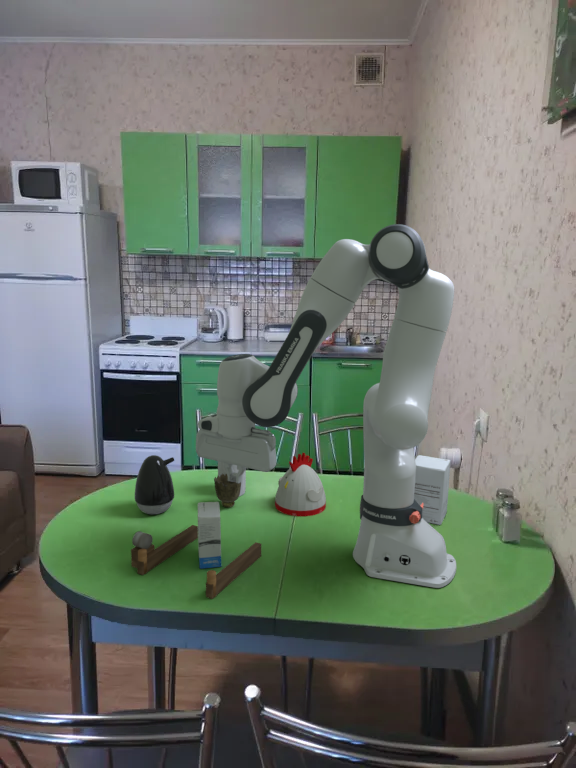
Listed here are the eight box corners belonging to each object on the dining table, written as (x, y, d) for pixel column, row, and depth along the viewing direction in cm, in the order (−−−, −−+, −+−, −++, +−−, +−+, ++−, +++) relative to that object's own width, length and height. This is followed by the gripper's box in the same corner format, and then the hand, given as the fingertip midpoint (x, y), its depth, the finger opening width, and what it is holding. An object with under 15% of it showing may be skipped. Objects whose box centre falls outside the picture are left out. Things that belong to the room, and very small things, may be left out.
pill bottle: (230, 500, 153) (230, 449, 150) (212, 492, 158) (211, 442, 155) (251, 492, 159) (251, 443, 156) (232, 485, 164) (232, 436, 161)
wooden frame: (261, 556, 124) (262, 526, 122) (212, 599, 107) (212, 565, 106) (182, 533, 134) (182, 505, 132) (126, 569, 117) (125, 538, 116)
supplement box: (414, 505, 152) (417, 454, 149) (447, 512, 148) (451, 459, 145) (406, 518, 144) (409, 464, 141) (440, 525, 140) (445, 470, 137)
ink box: (221, 567, 118) (221, 516, 116) (198, 569, 118) (197, 518, 115) (219, 548, 127) (219, 500, 124) (198, 549, 126) (197, 501, 124)
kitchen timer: (264, 504, 151) (265, 452, 148) (301, 491, 161) (302, 442, 158) (299, 521, 141) (300, 466, 138) (336, 507, 150) (338, 454, 147)
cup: (244, 501, 153) (244, 473, 151) (239, 512, 146) (239, 483, 144) (217, 499, 154) (217, 472, 152) (211, 510, 147) (211, 482, 145)
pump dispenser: (176, 516, 143) (175, 460, 139) (134, 520, 140) (132, 463, 137) (174, 501, 152) (173, 448, 149) (135, 504, 150) (133, 450, 147)
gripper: (282, 428, 124) (280, 486, 127) (208, 414, 134) (207, 469, 136) (268, 435, 119) (266, 495, 122) (192, 420, 128) (191, 476, 131)
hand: (234, 481), depth 129 cm, fingers closed
